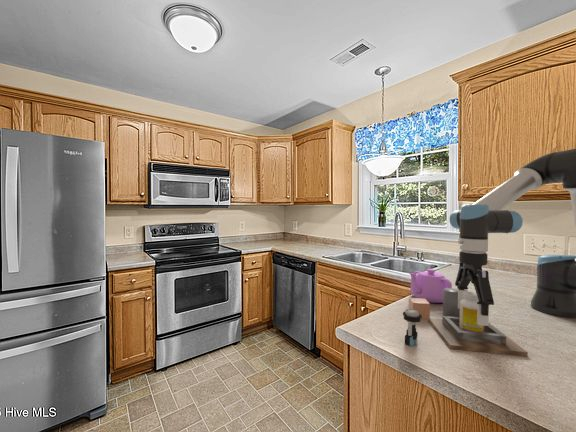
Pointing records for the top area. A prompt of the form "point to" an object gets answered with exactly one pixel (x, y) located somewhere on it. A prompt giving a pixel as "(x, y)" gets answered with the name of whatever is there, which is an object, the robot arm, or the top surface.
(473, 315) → the supplement bottle
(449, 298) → the grey rounded capsule
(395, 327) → the top surface
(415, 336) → the push button
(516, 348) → the socket board
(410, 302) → the terracotta block
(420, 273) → the teapot
